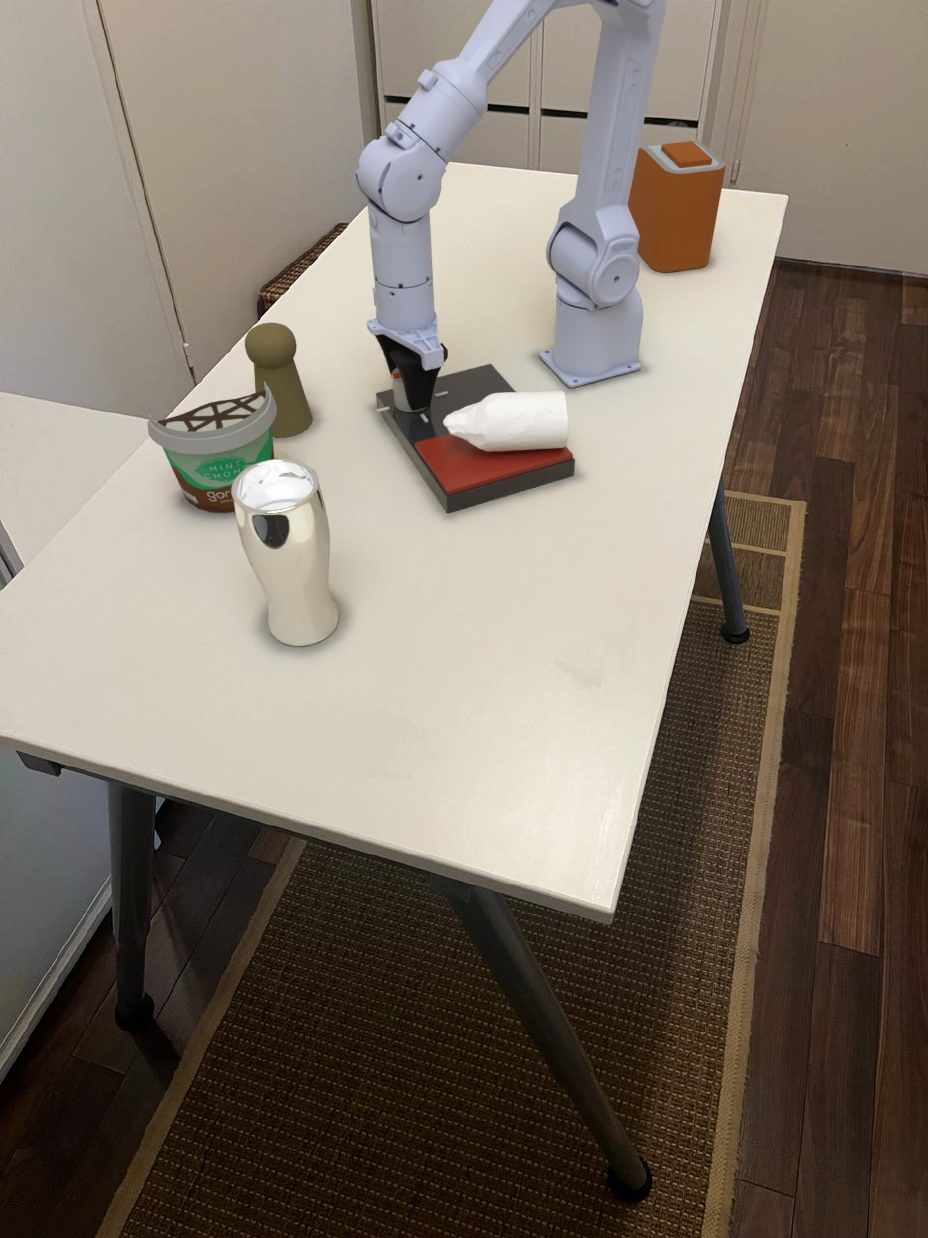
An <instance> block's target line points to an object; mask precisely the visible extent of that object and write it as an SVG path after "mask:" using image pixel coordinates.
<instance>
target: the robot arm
mask: <svg viewBox="0 0 928 1238" xmlns="http://www.w3.org/2000/svg"><path fill="white" fill-rule="evenodd" d="M587 4H589V5H590V6H591V8H592V10H594V12H595V13H596V14H597V16H598V17H599V19H600V22H601V25H600V26H601V27H600V32H599V40H598V45H597V46H598V47H597V52H596V58H595V65H594V72H593V77H592V84H591V90H590V98H589V102H588V103H589V104H588V108H587V109H588V110H587V116H586V121H585V122H586V123H585V129H584V135H583V141H582V149H581V155H580V161H579V167H578V173H577V180H576V186H575V192H574V197H573V198H572V199H571V200H569V201H567V202H566V203H564V204H563V205H562V206H561V207H560V208H559V210H558V215H557V216H558V217H557V221H556V224H555V227H554V228H553V231H552V233H551V235H550V236H549V238H548V241H547V244H546V249H545V258H546V259H545V260H546V263H547V265H548V267H549V268H550V270H552V272H554V273H555V278H554V279H555V282H554V283H555V285H556V299H555V315H554V316H555V318H554V332H553V333H554V335H553V348H549V349H545V350H542V351H539V353H538V357H539V358H540V359H541V360H542V361H543V362H544V363H545V364H546V365H547V366H548V367H549V368H550V370H551V371H552V372H553V373H554V374H555V375H556V376H557V377H558V378H559V379H560V380H561V381H562V382H563V383H564V384H565V385H566V386H567V387H568V388H576V387H580V386H584V385H587V384H591V383H595V382H598V381H603V380H606V379H609V378H613V377H616V376H620V375H624V374H627V373H631V372H635V371H639V370H640V369H642V368H641V367H642V365H641V363H640V362H639V353H640V346H641V337H642V331H643V323H644V306H643V301H642V298H641V294H640V293H639V290H638V289H637V288H636V284H637V282H638V280H639V276H640V271H641V264H640V263H641V262H640V259H639V255H638V254H639V252H638V251H637V249H638V242H639V238H640V236H639V232H638V230H637V227H636V225H635V223H634V220H633V218H632V216H631V213H630V211H629V208H628V200H629V195H630V190H631V185H632V180H633V175H634V170H635V165H636V159H637V154H638V149H639V148H640V144H641V139H642V133H643V128H644V122H645V118H646V112H647V107H648V103H649V97H650V93H651V88H652V82H653V78H654V77H653V76H654V71H655V66H656V62H657V57H658V52H659V47H660V46H659V45H660V41H661V35H662V31H663V25H664V20H665V16H666V10H667V0H493V1H492V2H491V4H490V5H489V7H488V9H487V10H486V12H485V14H484V15H483V17H482V18H481V20H480V21H479V23H478V25H477V26H476V28H475V29H474V31H473V32H472V34H471V36H470V37H469V39H468V41H467V42H466V44H465V45H464V47H463V49H462V50H461V52H460V53H459V55H458V56H457V57H454V58H450V59H446V60H440V61H436V63H435V64H434V65H433V67H432V69H431V70H429V69H427V68H425V69H424V70H423V71H422V73H420V75H419V77H418V79H417V80H416V81H417V82H416V83H417V84H418V85H419V87H418V88H417V90H416V91H415V92H414V94H413V96H412V97H411V98H410V100H409V101H408V102H407V104H405V106H404V108H403V109H402V111H401V112H400V114H399V115H398V117H397V118H396V119H395V121H394V122H389V123H388V125H387V126H386V127H385V129H384V133H385V135H381V136H379V138H378V139H376V138H374V139H372V140H371V141H370V142H369V143H367V145H366V146H365V147H364V149H363V150H362V152H361V154H360V156H359V158H358V161H357V163H358V167H356V170H354V171H353V173H352V174H353V176H352V177H353V180H354V183H355V185H356V187H357V189H358V190H359V192H360V193H361V194H362V195H363V196H364V197H365V198H366V200H367V202H366V203H367V212H368V223H369V241H370V248H371V250H370V251H371V260H372V271H373V280H374V281H373V282H374V287H372V294H373V305H374V307H375V318H371V319H369V320H368V321H367V322H366V327H367V328H366V329H367V330H368V332H369V333H370V334H371V335H372V336H374V337H375V339H376V341H377V342H378V344H379V347H380V349H381V351H382V354H383V356H384V359H385V362H386V365H387V369H388V371H389V372H388V373H389V374H390V375H389V376H390V378H391V379H392V372H393V370H394V369H395V368H398V370H399V372H400V374H401V377H402V380H403V384H404V389H405V393H406V398H407V401H408V404H409V406H410V408H411V409H412V410H413V411H414V410H418V409H422V408H426V407H429V406H430V403H431V399H432V395H433V390H434V386H435V382H436V379H437V377H439V376H438V375H439V374H440V371H441V369H442V368H443V367H445V362H446V361H447V359H448V357H449V350H448V348H447V347H446V345H445V344H444V343H442V342H440V337H439V324H438V314H437V312H436V311H435V293H434V292H435V291H434V271H433V270H434V269H433V268H434V267H433V252H432V251H433V250H432V229H431V228H432V226H431V211H430V210H431V209H433V208H434V207H435V206H436V205H437V203H438V201H439V199H440V196H441V191H442V179H443V177H444V175H445V173H446V172H447V169H446V168H447V167H448V165H449V163H450V162H451V161H452V159H453V158H454V157H455V155H456V154H457V153H458V151H459V150H460V148H461V147H462V146H463V144H464V143H465V142H466V140H467V139H468V137H469V136H470V135H471V133H472V132H473V130H474V129H476V127H477V125H478V124H479V123H480V121H481V120H482V119H483V118H484V116H485V114H486V113H487V112H488V107H489V106H488V105H489V104H488V102H489V101H488V91H489V86H490V85H491V84H492V82H493V81H494V80H495V79H496V78H497V76H498V75H499V74H500V73H501V72H502V70H503V69H504V68H505V66H507V64H508V63H509V62H510V61H511V60H512V58H513V57H514V56H515V55H516V54H517V52H518V51H519V50H520V49H521V48H522V47H523V45H524V44H525V43H526V42H527V40H528V39H529V38H530V37H531V36H532V34H533V33H534V32H535V31H536V30H537V28H538V27H539V26H540V25H541V24H542V22H543V21H544V20H545V18H547V16H548V15H549V14H550V13H551V12H552V11H554V10H558V9H564V8H570V7H576V6H580V5H581V6H582V5H587Z"/></svg>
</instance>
